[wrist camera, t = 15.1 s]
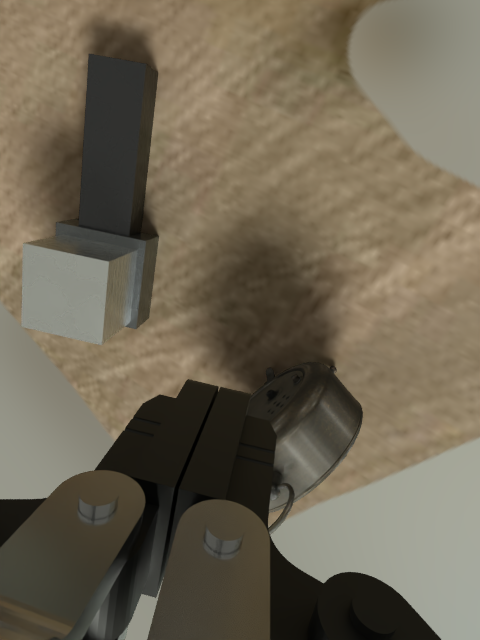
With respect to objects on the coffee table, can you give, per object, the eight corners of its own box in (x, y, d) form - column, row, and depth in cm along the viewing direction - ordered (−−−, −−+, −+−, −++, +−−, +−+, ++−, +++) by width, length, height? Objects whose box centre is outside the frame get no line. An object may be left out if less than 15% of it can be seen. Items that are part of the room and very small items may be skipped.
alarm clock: (256, 442, 39) (225, 610, 24) (216, 399, 38) (157, 544, 23) (355, 374, 36) (395, 517, 20) (314, 326, 35) (323, 437, 20)
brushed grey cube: (63, 234, 33) (23, 243, 28) (137, 249, 32) (108, 261, 27) (60, 306, 34) (21, 326, 30) (129, 322, 34) (102, 345, 29)
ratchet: (85, 59, 31) (37, 33, 26) (178, 76, 31) (150, 52, 25) (71, 300, 37) (30, 321, 32) (149, 317, 37) (121, 342, 31)
